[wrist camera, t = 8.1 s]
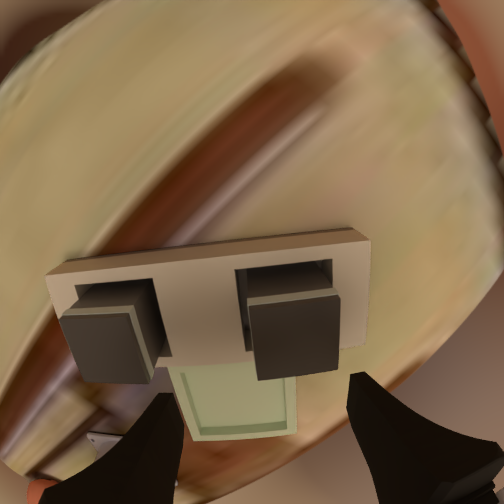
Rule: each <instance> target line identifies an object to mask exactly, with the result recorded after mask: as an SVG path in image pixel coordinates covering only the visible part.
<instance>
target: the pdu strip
mask: <svg viewBox="0 0 504 504" xmlns="http://www.w3.org/2000/svg"><path fill="white" fill-rule="evenodd" d="M370 254H371V240H370V239H368V238H367V237H365V236H364V235H362V234H361V233H359V232H358V231H356V230H355V229H353V228H343V229H332V230H323V231H313V232H303V233H293V234H284V235H274V236H265V237H256V238H247V239H237V240H228V241H220V242H211V243H202V244H193V245H185V246H176V247H168V248H159V249H151V250H142V251H134V252H126V253H118V254H110V255H102V256H94V257H86V258H79V259H71V260H66V261H65V262H63V263H62V264H60V265H59V266H57V267H56V268H55V269H53V270H52V271H50V272H49V273H47V274H46V275H44V277H45V280H46V283H47V287H48V290H49V293H50V296H51V299H52V302H53V305H54V308H55V311H56V314H57V317H58V320H59V318H60V317H61V316H62V315H61V314H62V313H63V312H64V311H65V310H66V309H69V308H70V307H71V306H72V305H73V304H74V303H75V302H76V301H77V300H78V299H79V298H80V297H81V296H82V295H83V294H84V293H85V292H86V291H87V290H88V289H90V288H91V287H92V286H93V285H94V284H95V283H103V282H114V281H125V280H135V279H146V278H153V282H154V286H155V291H156V295H157V299H158V303H159V307H160V312H161V316H162V319H163V323H164V327H165V331H166V335H167V336H166V339H165V341H164V344H163V347H162V349H161V352H160V355H159V357H158V360H157V363H156V366H155V367H179V366H200V365H216V364H229V363H241V362H251V361H254V354H253V346H252V338H251V330H250V322H249V315H248V307H247V298H248V287H247V269H246V268H253V267H262V266H271V265H280V264H289V263H298V262H306V261H315V262H316V263H317V265H318V266H319V268H320V269H321V271H322V272H323V273H324V275H325V276H326V278H327V279H328V281H329V282H330V284H331V285H332V287H333V288H336V290H337V291H338V293H339V297H340V298H341V310H340V341H339V349H344V348H350V347H355V346H360V345H365V343H366V332H367V319H368V305H369V286H370ZM61 328H62V327H61ZM66 341H67V340H66ZM71 353H72V352H71ZM74 360H75V359H74Z"/></svg>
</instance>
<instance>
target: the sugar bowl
mask: <svg viewBox="0 0 504 504" xmlns="http://www.w3.org/2000/svg"><path fill="white" fill-rule="evenodd" d="M55 484H58V482H57V481H55V480H52V479H51V481H49V480H46V479H38V480H34V481H31V482H30V483H29V486H28V490H27V502H28V504H38V502H39V500H40V498H41V495H42V493H43V491H44V489H45V488H48V487H50V486H53V485H55Z"/></svg>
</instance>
